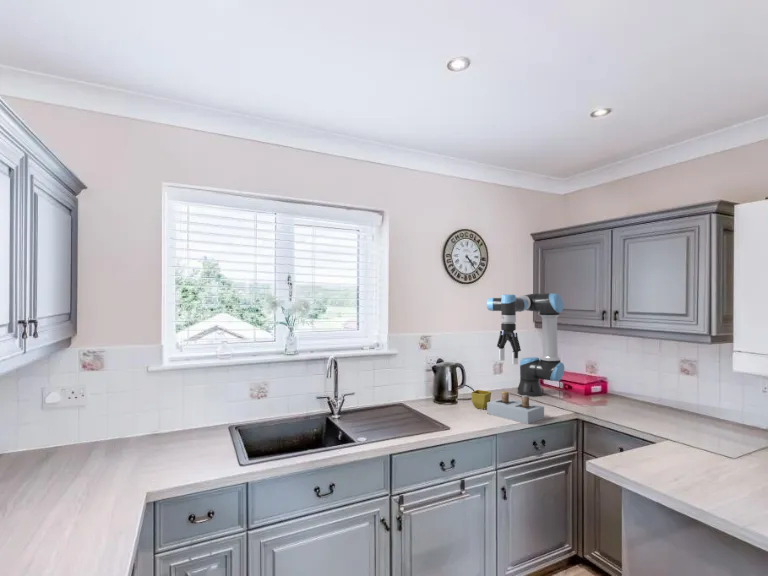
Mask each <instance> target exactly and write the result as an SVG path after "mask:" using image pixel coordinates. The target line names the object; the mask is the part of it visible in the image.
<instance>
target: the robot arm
mask: <svg viewBox="0 0 768 576" xmlns="http://www.w3.org/2000/svg"><path fill="white" fill-rule="evenodd" d="M486 309H487V310H488V311H491V312H501V313H500V314H501V315H500V316H501V317H500V319H501V324H500V328H501V330H500V331H499V336H498V340H497V343H496V347H497V348H498V349H499V353H498V355H499V361H501V362H502V361H503V362H504V361H505V358H506V357H505V346H506V344H507V342H509V343H510V346H511V348H512V365H519V376H520V377H519V378H520V379H519V383H518V386H517V389H516V390H517V391H516V392H517V394H518V395H521V396H522V395H527V396H529V397H540V396H542V395H543V390H542V386H541V383H540V380H544V381H545V380H546V381H551V382H559V381H561V380H562V379H563V376H564V373H565V364H564V363H563V362H561V358H560V357H559V354H558V317H560V313H562V312H563V309H564V302H563V299H562V297H561V295H560V294H558V293H552V292H550V293H547V292H546V293H529V294H523V295H520V296H516V295H515V294H502V295H501V297H490V298H488V299H487V300H486ZM524 311H529V312H533V313H534V312H536V313H539V316H540V317H541V320H542V321H541V323H542V331H541V332H542V356H541V357H533V356H532V357H524V358H521V359H520V360H519V352H521V351H522V349H521V345H520V342H519V337H518V332H515V331H516V329H517V328H516V327H517V325H516V323H517V315H516V313H521V312H524ZM519 361H520V363H519Z"/></svg>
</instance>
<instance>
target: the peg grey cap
mask: <svg viewBox="0 0 768 576" xmlns="http://www.w3.org/2000/svg"><path fill="white" fill-rule="evenodd" d="M521 401H522V407H523V408H529V403H530V396H527V395H521Z"/></svg>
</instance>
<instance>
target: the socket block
mask: <svg viewBox="0 0 768 576" xmlns="http://www.w3.org/2000/svg"><path fill="white" fill-rule="evenodd" d="M486 414H487V415H491V416H495V417H497V418H502V419H507V420H511V421H514V422H518V423H521V424H522V423H523V424H525V425H526V424H527V425H529V424H532V423H534V422H537V421H540V420H543V419H545V406H544V405H540V404H537V403H531V402H529V408H523V407H522V400H516V399H511V398H509V403H506V404H505V403H502V397H501V398H498V399H495V400H490V402H487V408H486Z"/></svg>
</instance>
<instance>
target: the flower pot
mask: <svg viewBox="0 0 768 576" xmlns="http://www.w3.org/2000/svg"><path fill="white" fill-rule="evenodd" d="M470 396H471V397H470V398H471V403H472V405H473V406H474V408H475V409H480V410H485V409H487V402H491V397H492V391H489V390H481V389H476V390H474V391H472V392H470Z"/></svg>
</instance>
